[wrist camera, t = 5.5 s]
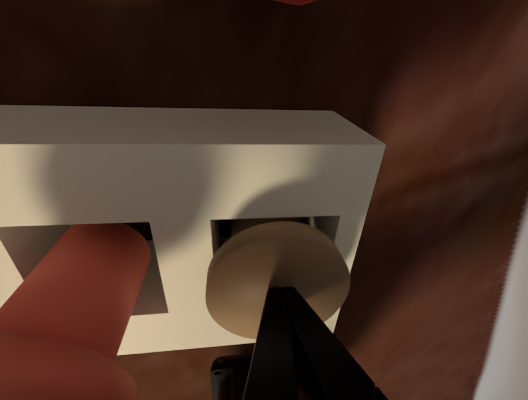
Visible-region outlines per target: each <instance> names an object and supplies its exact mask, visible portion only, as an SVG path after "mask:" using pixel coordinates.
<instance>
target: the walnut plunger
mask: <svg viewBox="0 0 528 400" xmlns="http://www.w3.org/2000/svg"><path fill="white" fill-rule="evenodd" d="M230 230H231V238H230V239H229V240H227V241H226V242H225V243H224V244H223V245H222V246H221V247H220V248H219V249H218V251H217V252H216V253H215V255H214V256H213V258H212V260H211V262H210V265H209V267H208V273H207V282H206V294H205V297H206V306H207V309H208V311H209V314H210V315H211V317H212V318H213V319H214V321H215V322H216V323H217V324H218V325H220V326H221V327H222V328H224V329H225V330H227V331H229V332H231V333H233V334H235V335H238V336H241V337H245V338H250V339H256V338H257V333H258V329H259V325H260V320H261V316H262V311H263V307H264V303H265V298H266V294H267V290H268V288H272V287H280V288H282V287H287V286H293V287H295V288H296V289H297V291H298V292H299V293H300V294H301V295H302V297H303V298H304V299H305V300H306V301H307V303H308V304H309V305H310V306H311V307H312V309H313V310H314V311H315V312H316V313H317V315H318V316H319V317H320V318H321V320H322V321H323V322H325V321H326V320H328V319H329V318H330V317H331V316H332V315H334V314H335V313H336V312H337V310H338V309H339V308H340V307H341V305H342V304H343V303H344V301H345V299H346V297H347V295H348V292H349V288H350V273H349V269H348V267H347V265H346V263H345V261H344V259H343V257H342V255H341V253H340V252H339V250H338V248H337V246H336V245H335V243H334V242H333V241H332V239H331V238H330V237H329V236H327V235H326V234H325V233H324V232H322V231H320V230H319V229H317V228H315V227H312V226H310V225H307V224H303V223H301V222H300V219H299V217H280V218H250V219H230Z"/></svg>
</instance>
